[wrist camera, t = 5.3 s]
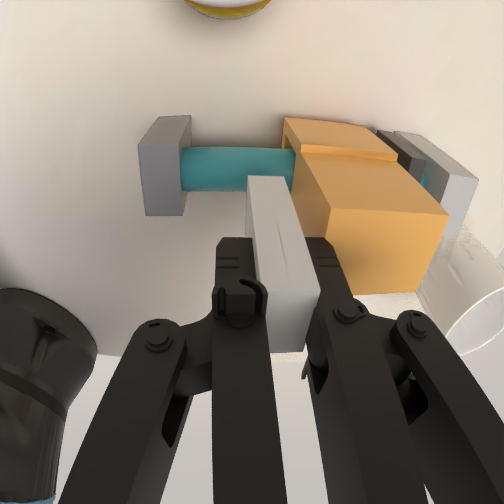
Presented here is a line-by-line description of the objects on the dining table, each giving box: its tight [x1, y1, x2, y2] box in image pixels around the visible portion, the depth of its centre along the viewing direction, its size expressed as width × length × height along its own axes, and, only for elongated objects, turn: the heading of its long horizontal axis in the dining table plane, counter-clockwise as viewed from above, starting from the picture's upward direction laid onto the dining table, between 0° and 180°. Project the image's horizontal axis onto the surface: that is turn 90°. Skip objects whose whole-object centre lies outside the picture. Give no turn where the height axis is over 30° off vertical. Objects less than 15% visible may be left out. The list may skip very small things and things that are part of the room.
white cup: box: [416, 225, 504, 356], centre depth 22 cm, size 8×8×10 cm
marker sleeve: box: [281, 118, 450, 295], centre depth 15 cm, size 5×5×10 cm
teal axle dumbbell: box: [138, 116, 479, 237], centre depth 18 cm, size 18×5×7 cm, turn 87°
